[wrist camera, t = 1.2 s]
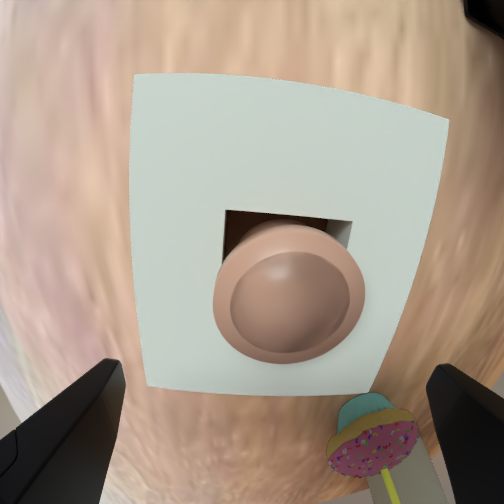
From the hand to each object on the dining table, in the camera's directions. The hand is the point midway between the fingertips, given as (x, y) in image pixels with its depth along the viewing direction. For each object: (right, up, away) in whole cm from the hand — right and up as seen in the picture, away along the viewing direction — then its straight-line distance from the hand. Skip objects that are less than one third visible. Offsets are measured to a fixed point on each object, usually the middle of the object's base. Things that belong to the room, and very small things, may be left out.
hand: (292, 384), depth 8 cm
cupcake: (+9, -11, +19) cm, 24 cm away
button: (0, +3, +9) cm, 9 cm away
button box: (0, +4, +12) cm, 12 cm away
